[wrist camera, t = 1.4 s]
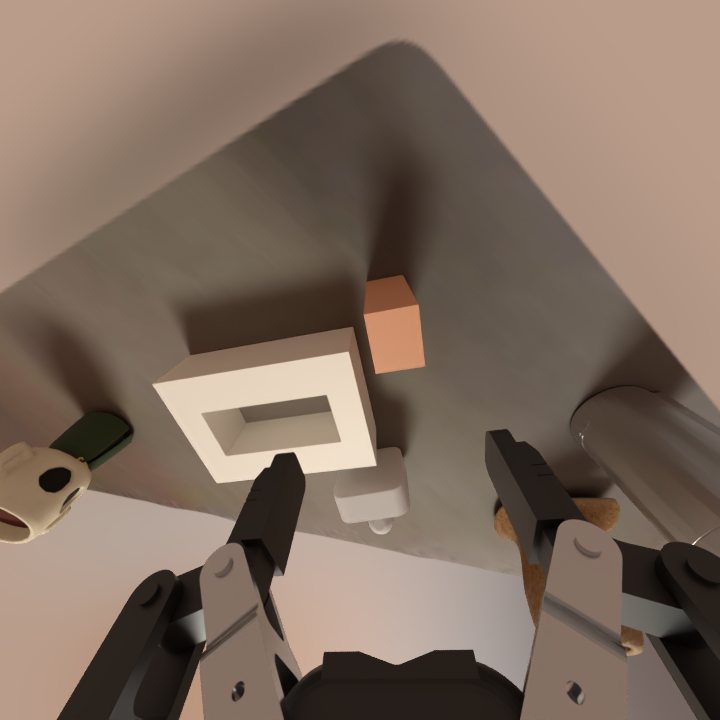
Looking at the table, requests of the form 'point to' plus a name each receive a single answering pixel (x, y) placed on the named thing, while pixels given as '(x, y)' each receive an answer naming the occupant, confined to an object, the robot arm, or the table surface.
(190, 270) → the table surface
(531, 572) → the brown boot-shaped piece
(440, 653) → the robot arm
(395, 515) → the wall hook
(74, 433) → the character mug
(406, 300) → the orange block
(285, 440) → the well block
